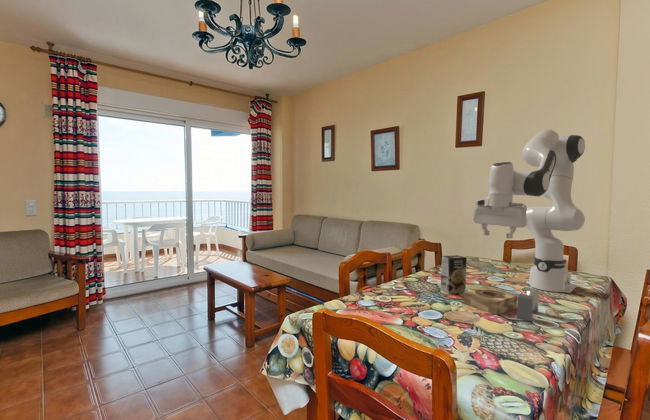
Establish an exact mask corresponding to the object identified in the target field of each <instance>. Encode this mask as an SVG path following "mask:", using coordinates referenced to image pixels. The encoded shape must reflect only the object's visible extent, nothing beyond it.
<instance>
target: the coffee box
mask: <svg viewBox="0 0 650 420" xmlns="http://www.w3.org/2000/svg"><path fill="white" fill-rule="evenodd" d="M467 260H468V259H467V257H466V256H462V255H441V270H440V291H442V292H444V293H446V294H449V295H450V294H462V293H463V294H464V292H465V291H466V284H467V283H466V282H467V280H466V279H467Z"/></svg>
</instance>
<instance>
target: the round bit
mask: <svg viewBox="0 0 650 420" xmlns="http://www.w3.org/2000/svg"><path fill="white" fill-rule="evenodd" d="M525 295H529V296H534V304H533V315H537V314H539V303H540V292H539V291H538V290H535V289H526V290H525Z"/></svg>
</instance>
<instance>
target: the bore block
mask: <svg viewBox="0 0 650 420" xmlns="http://www.w3.org/2000/svg"><path fill="white" fill-rule="evenodd" d="M462 296H463V300H462V301H463V302H462V303H463V305H466V306H469V307H472V308H474V309H477V310H481V311H483V312H486V313H490V314H492V315H496V316H498V315H500V314H504V313H506V312H510V311H513V310H517V303H518V295H516V294H514V293H509V292H505V291H501V290H498V289H494V288H491V287H486V286H480V287H477V288H474V289H468V290H465V292H463V295H462Z"/></svg>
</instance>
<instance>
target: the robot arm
mask: <svg viewBox="0 0 650 420" xmlns="http://www.w3.org/2000/svg"><path fill="white" fill-rule="evenodd" d="M585 143H586V141H585V139H584V138H583V137H582V136H581V135H577V134H570V135H559V134H558V133H557V132H556V131H555V130H553V129H542V130H540V131H538V132H537V133H536V134H534V135H533V136H532V137H531V138H530V139H528V142H527V143H526V144H525V145H524V147H523V148H522V151H521V153H522V154H521V155H522V159H523V160H524V162H525V163H527V164H528V165H530V166H533V167H538V168H537V169H536V170H529V171H528V170H527V171H516V170H515V169H514V164H513V162H511V161H504V162H497V163H493V164H491V167H490V170H489V174H488V188H489V189H488V191H487V197H485V198H481V199H478V200H476V201H475V208H474V211H473V216H472V217H473V222H474V223H475V224H481V229H482V231H483V236H490V230H488V228H487V227H488V225H489V226H491V225H492V226H501V227H509V233H508V232H507V233H506V239H513V238H514V237H513V234H514V233H516V230H517V228H525V227H526V228H527V229H529V231H530V232H531V234H532V237H533V239H534V242H535V243H534V244H535V251H534V252H535V255H534V257H533V264H534V265H533V266H531V267H530V270H529V280H526V283H525V284H527V285H529V286H530V287H532V288H534V289H537V290H541V291H547V292H553V293H567V294H569V293H570V294H571V293H572V292H574V290H575V289H576V288H577V284H575V283H572V282H571V281H572V276H571V273H570V272H569V271H568V270H567V269H566V265H567V262H568V260H567V259H564V249H565V245H564V243H563V241H561V239H559V238H557V237H556V236H554V234H553V232H552V231H561V232H562V231H563V232H570V231H571V232H573V231H579V230H580V229H582V227H583V226H584V224H585V222H586V221H585V220H586V219H585V218H586V217H585V215H584V212H583V211H582V210H581V209H579V208H578V207H577V206H576V205H575V204H574V202H573V200H572V196H571V195H572V186H573V181H574V180H573V179H574V173H575V172H574V170H575V169H574V167H575V165H574V163H576V161H577V160H578V159H579V158H580V157H582V156H583V154H584V153H585V150H586V144H585ZM514 196H530V197H541V196H543V197H545V198H546V199H547V200H550V201H552V206H544V205H543V206H542V205H541V206H540V205H535V206H528V207H527V206H526V205H525V204H524V203H521V202H519V203H517V202H513V197H514Z"/></svg>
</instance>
